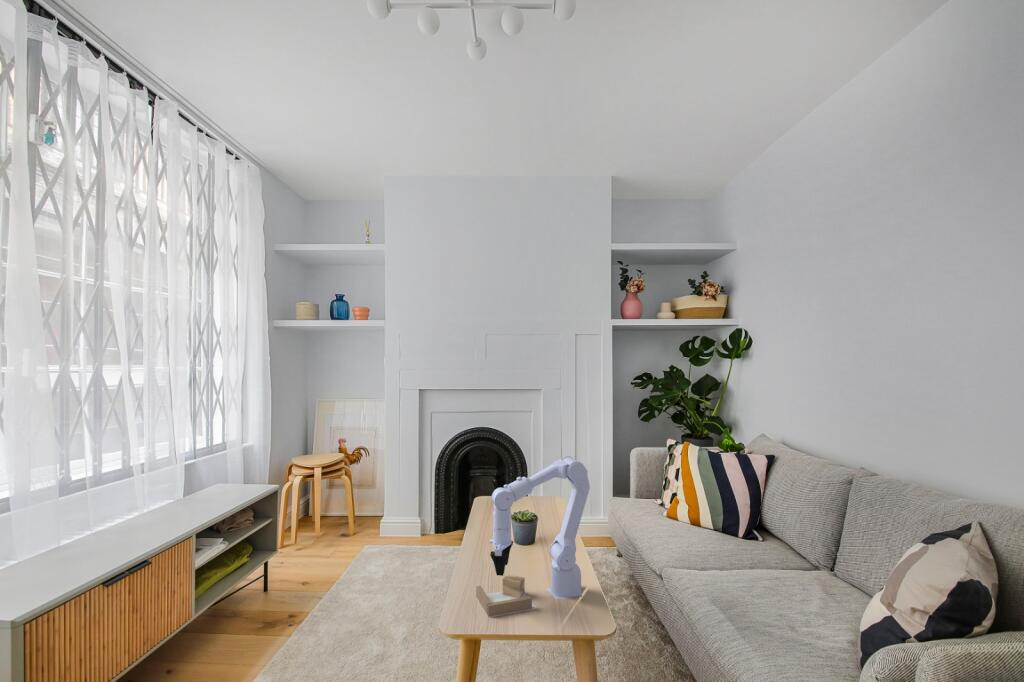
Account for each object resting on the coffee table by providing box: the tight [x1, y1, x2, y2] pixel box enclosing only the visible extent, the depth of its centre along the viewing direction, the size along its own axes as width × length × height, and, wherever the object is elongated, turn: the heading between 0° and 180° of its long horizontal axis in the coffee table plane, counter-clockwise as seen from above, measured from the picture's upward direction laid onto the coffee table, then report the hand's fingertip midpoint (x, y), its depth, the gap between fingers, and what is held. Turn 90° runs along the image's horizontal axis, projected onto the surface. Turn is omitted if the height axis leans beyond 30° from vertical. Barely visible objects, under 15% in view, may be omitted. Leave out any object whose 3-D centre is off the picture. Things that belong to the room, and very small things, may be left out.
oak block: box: [502, 573, 526, 598], centre depth 161 cm, size 4×6×5 cm, turn 65°
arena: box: [475, 585, 538, 619], centre depth 155 cm, size 16×14×4 cm
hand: (502, 569), depth 158 cm, fingers open, 7 cm apart
